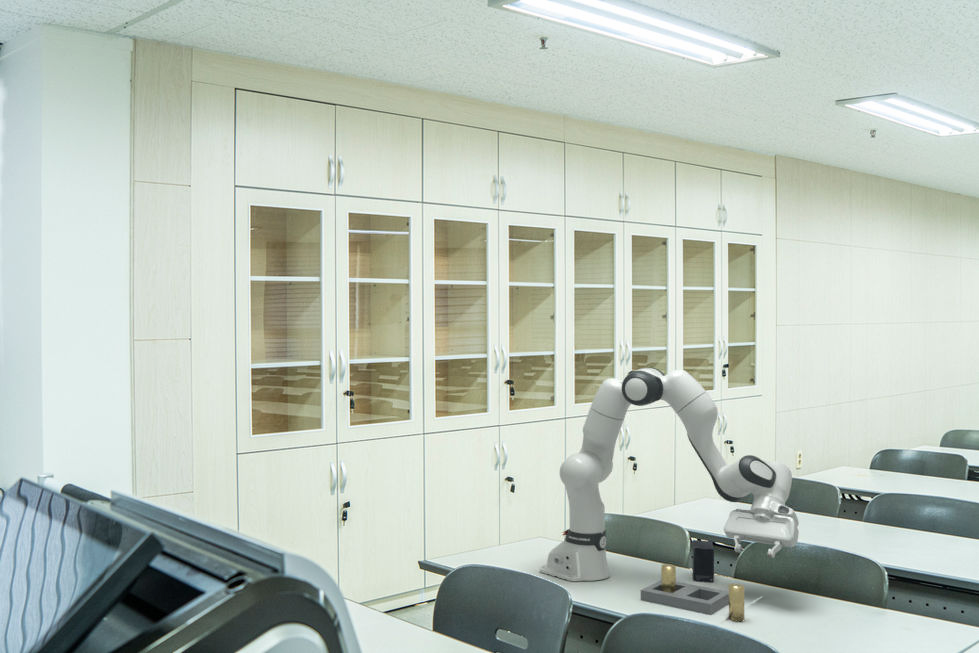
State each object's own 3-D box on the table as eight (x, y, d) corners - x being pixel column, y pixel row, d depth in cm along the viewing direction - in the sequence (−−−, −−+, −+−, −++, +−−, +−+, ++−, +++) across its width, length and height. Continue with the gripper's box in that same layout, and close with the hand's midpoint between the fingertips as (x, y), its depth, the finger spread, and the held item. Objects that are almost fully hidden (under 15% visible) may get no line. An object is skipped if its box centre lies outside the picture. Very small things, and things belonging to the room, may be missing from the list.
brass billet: (726, 619, 229) (726, 585, 229) (732, 616, 232) (732, 582, 232) (740, 622, 227) (740, 588, 227) (746, 619, 230) (746, 585, 230)
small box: (714, 582, 264) (714, 548, 264) (693, 581, 265) (692, 547, 265) (713, 573, 274) (712, 540, 274) (692, 572, 275) (691, 539, 275)
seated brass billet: (659, 597, 246) (658, 566, 246) (665, 594, 249) (665, 563, 249) (671, 600, 243) (671, 568, 243) (678, 597, 246) (678, 565, 247)
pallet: (640, 602, 244) (640, 590, 244) (663, 591, 255) (663, 579, 255) (710, 617, 231) (710, 604, 231) (731, 604, 242) (731, 592, 242)
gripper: (728, 501, 252) (714, 541, 244) (799, 510, 239) (787, 552, 231) (734, 514, 255) (721, 554, 247) (804, 523, 242) (792, 565, 235)
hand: (753, 553), depth 239 cm, fingers open, 8 cm apart
